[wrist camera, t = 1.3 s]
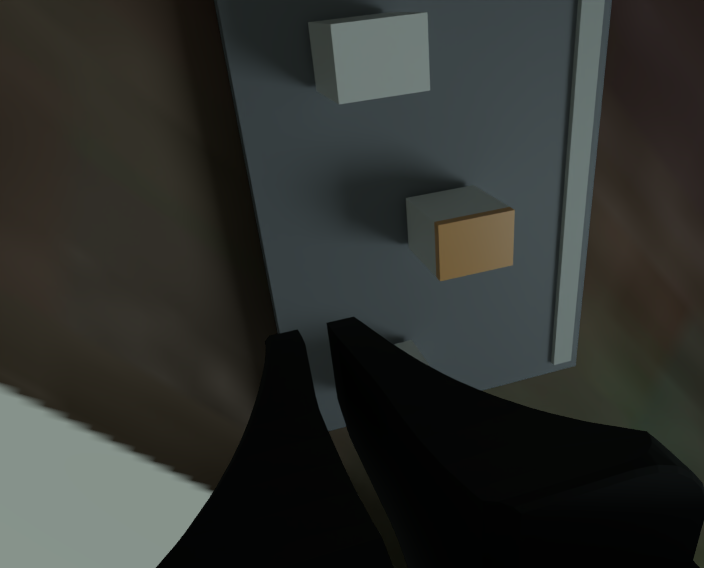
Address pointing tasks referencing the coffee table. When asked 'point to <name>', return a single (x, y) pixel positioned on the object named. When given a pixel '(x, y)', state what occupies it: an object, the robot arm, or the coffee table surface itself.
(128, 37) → the coffee table surface
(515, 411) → the robot arm
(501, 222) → the block
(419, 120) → the breaker board
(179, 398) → the coffee table surface
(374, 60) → the block
